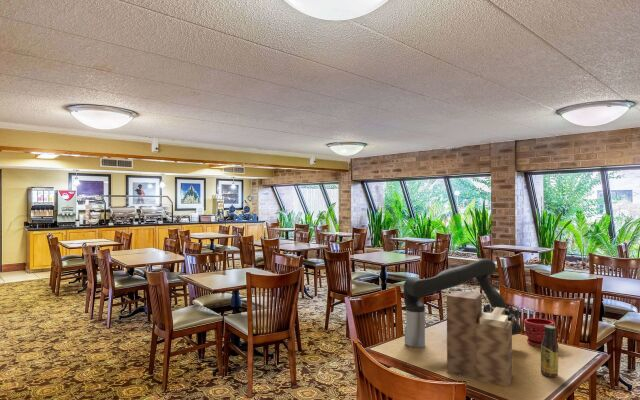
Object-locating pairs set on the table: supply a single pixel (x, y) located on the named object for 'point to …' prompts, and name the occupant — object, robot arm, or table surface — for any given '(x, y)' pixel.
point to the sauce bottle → (549, 353)
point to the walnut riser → (476, 341)
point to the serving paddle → (495, 318)
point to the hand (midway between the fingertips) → (498, 307)
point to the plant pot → (536, 330)
